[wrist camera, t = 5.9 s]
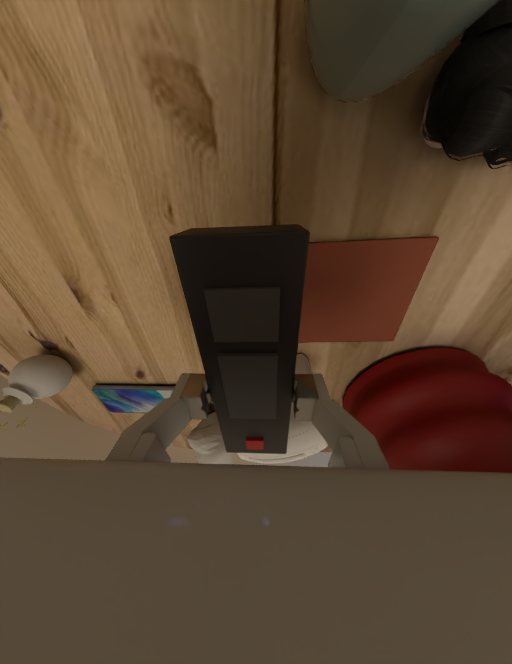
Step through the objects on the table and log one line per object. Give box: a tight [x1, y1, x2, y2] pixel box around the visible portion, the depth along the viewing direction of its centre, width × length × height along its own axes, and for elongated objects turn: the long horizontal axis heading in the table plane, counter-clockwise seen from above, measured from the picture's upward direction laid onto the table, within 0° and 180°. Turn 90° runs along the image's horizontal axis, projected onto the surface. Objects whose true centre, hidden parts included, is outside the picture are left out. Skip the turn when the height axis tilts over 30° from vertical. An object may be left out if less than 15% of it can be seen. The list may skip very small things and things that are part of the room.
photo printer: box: [236, 354, 328, 464], centre depth 23 cm, size 10×4×12 cm, turn 110°
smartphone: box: [92, 385, 175, 413], centre depth 33 cm, size 7×1×15 cm
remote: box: [170, 224, 310, 454], centre depth 11 cm, size 15×5×2 cm, turn 2°
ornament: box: [0, 355, 72, 430], centre depth 26 cm, size 6×7×10 cm
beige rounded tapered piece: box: [187, 412, 236, 464], centre depth 34 cm, size 10×8×15 cm
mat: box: [298, 236, 439, 343], centre depth 22 cm, size 12×20×1 cm, turn 93°
